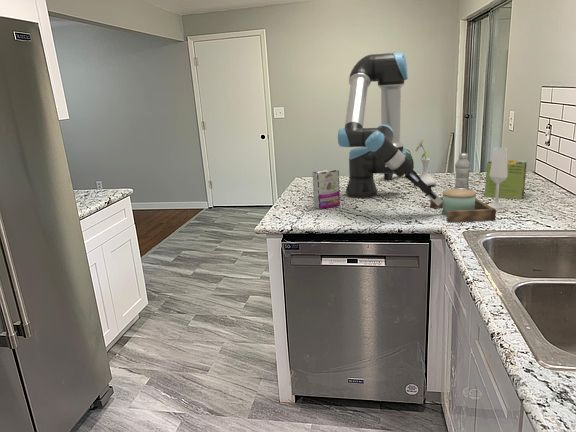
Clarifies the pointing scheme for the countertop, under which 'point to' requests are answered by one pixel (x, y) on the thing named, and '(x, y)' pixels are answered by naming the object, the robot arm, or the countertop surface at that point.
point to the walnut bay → (469, 212)
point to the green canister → (458, 200)
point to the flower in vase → (425, 168)
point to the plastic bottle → (462, 172)
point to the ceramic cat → (389, 176)
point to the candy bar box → (326, 188)
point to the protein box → (508, 181)
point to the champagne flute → (498, 172)
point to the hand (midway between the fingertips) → (440, 203)
